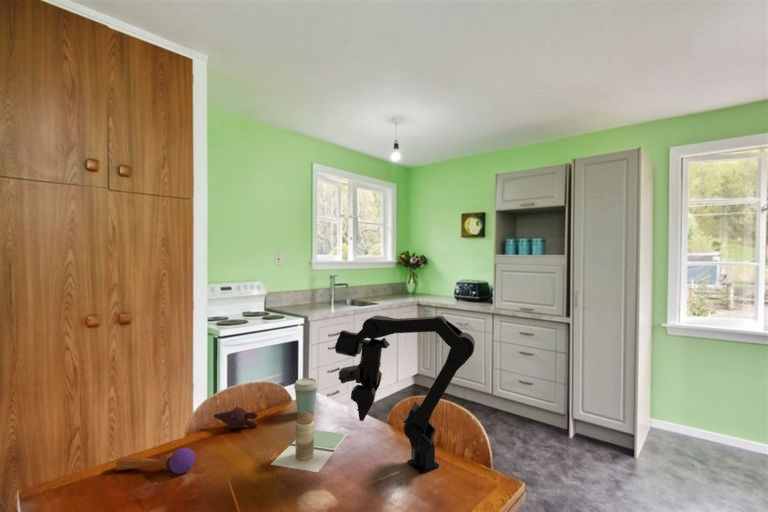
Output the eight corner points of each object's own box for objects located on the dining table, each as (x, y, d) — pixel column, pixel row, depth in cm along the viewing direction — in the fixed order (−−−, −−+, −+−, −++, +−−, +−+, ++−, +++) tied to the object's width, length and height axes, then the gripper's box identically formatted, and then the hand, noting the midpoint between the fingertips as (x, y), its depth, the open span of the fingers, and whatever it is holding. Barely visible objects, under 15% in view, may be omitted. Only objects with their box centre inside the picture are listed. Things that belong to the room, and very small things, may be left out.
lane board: (317, 473, 97) (317, 471, 97) (270, 465, 100) (270, 463, 100) (347, 435, 118) (347, 433, 118) (307, 429, 122) (307, 428, 122)
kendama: (129, 447, 102) (199, 444, 101) (127, 471, 100) (199, 468, 100) (112, 455, 96) (187, 451, 95) (110, 480, 95) (186, 476, 94)
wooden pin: (316, 457, 104) (316, 413, 104) (298, 462, 101) (299, 417, 101) (309, 449, 108) (310, 407, 108) (293, 454, 105) (293, 410, 105)
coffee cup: (322, 413, 135) (323, 380, 135) (306, 421, 127) (306, 386, 128) (305, 407, 139) (306, 376, 139) (288, 415, 132) (289, 382, 132)
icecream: (207, 413, 118) (252, 419, 118) (218, 399, 125) (261, 404, 125) (208, 432, 120) (253, 437, 119) (219, 416, 127) (261, 421, 127)
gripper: (349, 347, 116) (343, 396, 116) (335, 365, 97) (328, 423, 98) (384, 352, 115) (378, 401, 115) (377, 372, 96) (369, 430, 97)
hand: (364, 413), depth 106 cm, fingers open, 9 cm apart
